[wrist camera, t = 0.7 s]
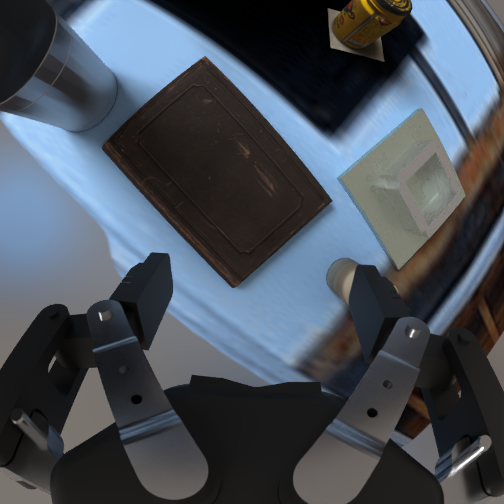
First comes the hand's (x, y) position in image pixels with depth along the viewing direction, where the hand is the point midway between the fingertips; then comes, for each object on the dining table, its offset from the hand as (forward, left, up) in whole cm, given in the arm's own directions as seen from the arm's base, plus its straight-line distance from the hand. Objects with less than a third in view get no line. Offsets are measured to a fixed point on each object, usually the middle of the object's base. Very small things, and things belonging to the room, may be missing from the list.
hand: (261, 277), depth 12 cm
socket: (+13, +22, -23) cm, 35 cm away
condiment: (-9, +30, -23) cm, 39 cm away
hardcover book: (-5, +2, -24) cm, 24 cm away
